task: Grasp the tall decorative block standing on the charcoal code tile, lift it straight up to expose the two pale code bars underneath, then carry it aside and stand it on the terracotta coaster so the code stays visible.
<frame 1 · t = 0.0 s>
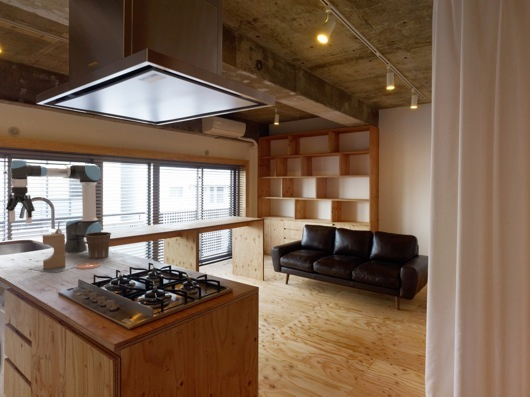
hand: (20, 222, 194), 28 cm above the counter, fingers open, 13 cm apart
plant pot: (98, 257, 229), on the counter
decorative block: (54, 267, 200), resting on code tile
code tile: (54, 267, 200), on the counter
coaster: (88, 266, 205), on the counter
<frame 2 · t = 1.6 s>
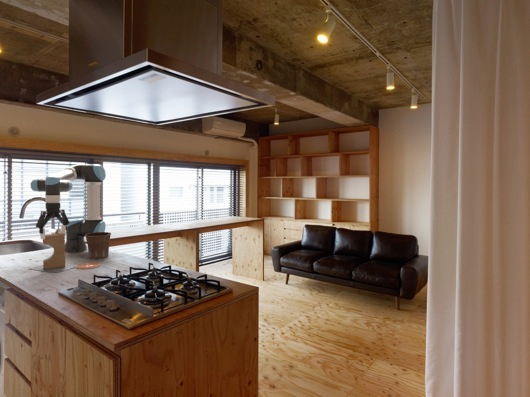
hand: (53, 237, 199), 19 cm above the counter, fingers open, 13 cm apart
nothing on the counter moved.
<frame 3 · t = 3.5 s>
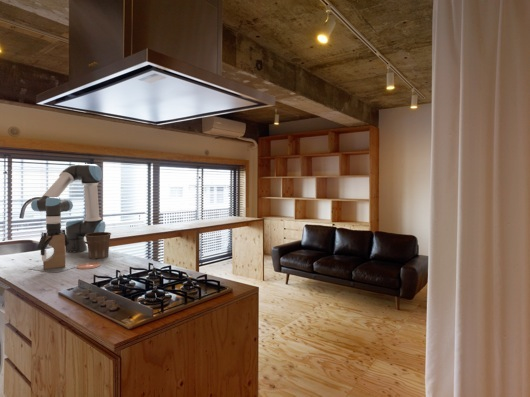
hand: (54, 258, 200), 6 cm above the counter, fingers open, 12 cm apart
decorative block: (54, 267, 200), resting on code tile, touching gripper, hand
everything else where it was.
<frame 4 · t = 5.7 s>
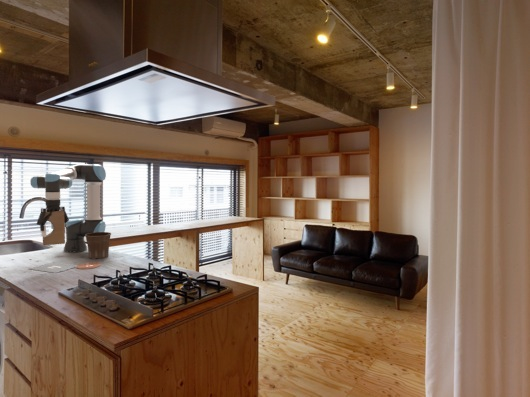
hand: (53, 234, 199), 20 cm above the counter
decorative block: (54, 244, 200), point 14 cm above the counter, touching gripper, hand
everything else where it was.
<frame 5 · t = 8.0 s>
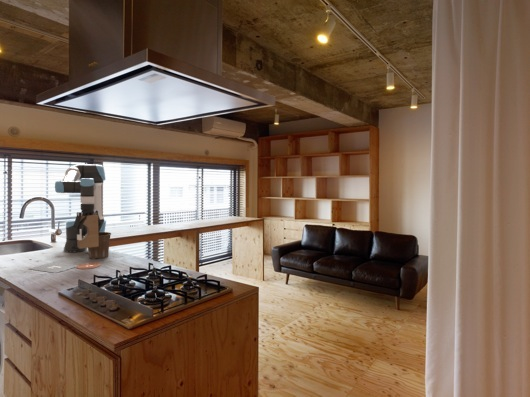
hand: (88, 238, 204), 18 cm above the counter
decorative block: (88, 247, 204), point 12 cm above the counter, touching gripper, hand
everything else where it was.
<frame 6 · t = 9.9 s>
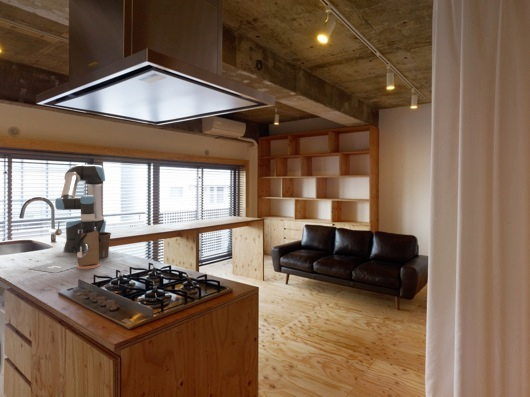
hand: (88, 254, 204), 7 cm above the counter
decorative block: (88, 264, 205), point 1 cm above the counter, touching gripper, hand
everything else where it was.
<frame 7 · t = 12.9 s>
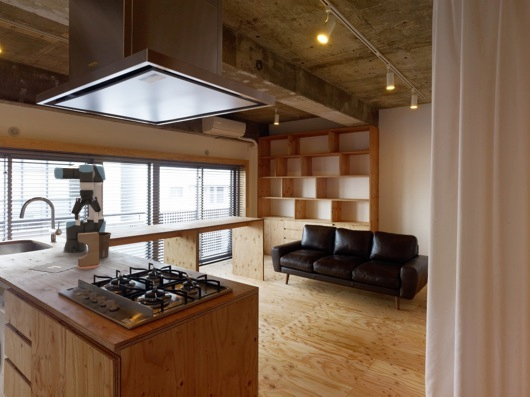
hand: (87, 223, 203), 27 cm above the counter, fingers open, 13 cm apart
decorative block: (88, 265, 205), resting on coaster
everything else where it was.
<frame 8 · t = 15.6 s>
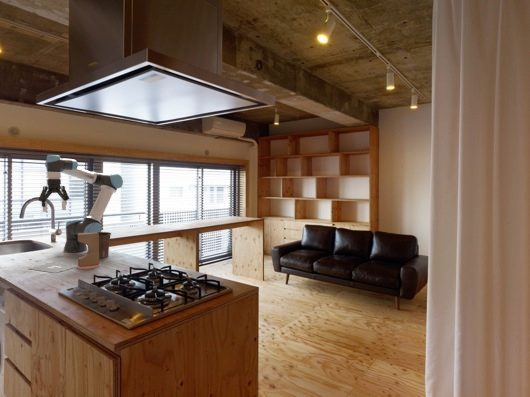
hand: (54, 210, 216), 33 cm above the counter, fingers open, 13 cm apart
nothing on the counter moved.
at the end: decorative block 0.6 cm from the coaster (horizontally); decorative block tilted 0°; decorative block 18.9 cm from the code tile (horizontally) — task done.
